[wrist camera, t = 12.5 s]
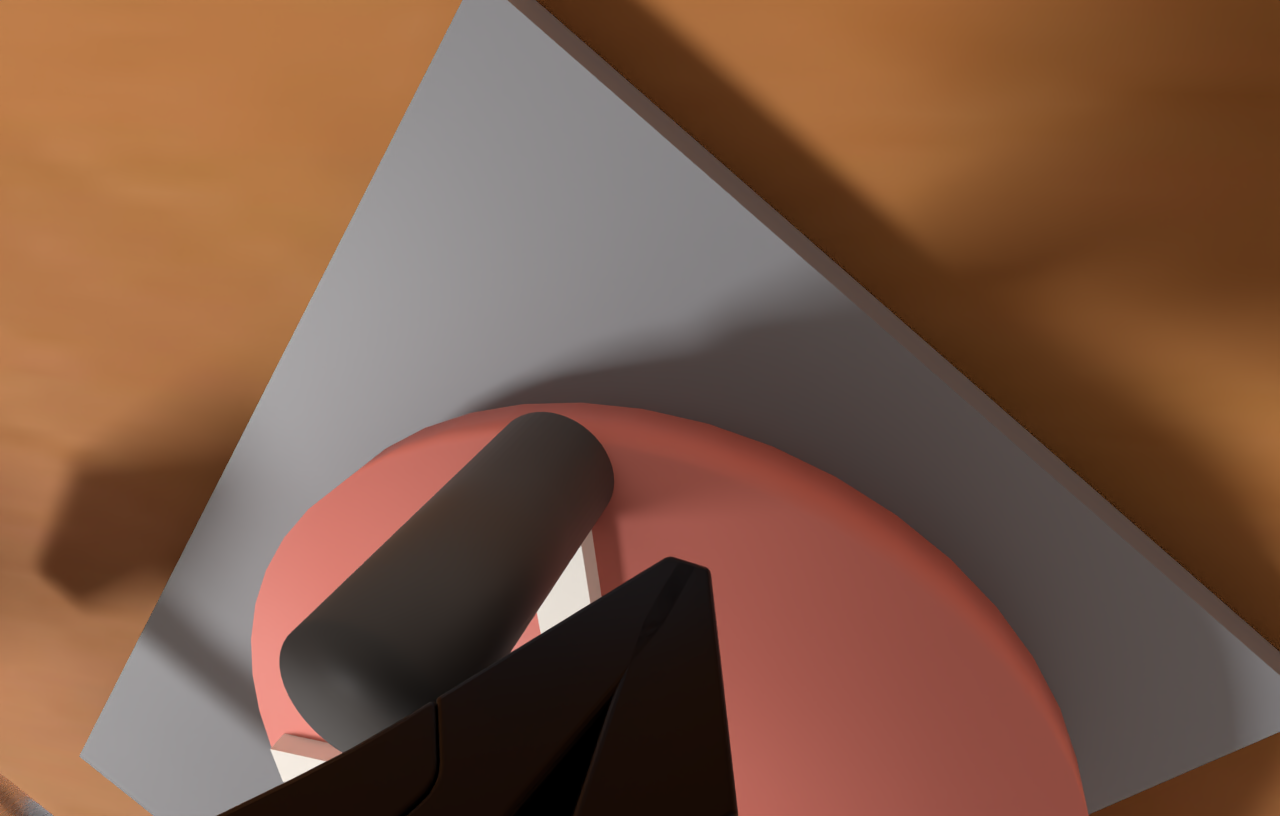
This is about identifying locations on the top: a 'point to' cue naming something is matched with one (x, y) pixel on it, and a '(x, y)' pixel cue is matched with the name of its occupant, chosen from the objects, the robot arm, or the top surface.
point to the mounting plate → (661, 382)
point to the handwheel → (624, 547)
